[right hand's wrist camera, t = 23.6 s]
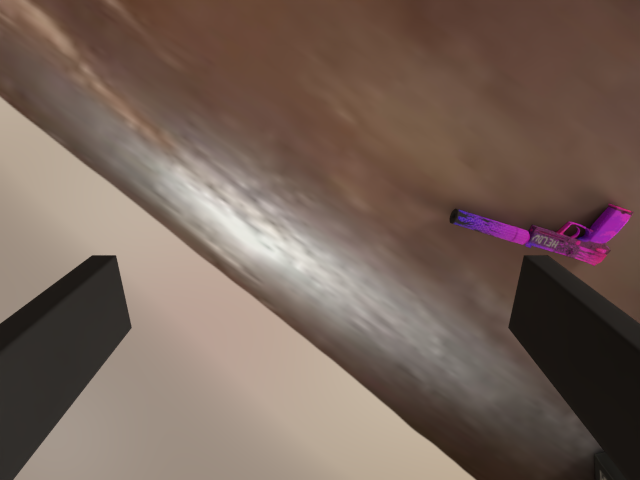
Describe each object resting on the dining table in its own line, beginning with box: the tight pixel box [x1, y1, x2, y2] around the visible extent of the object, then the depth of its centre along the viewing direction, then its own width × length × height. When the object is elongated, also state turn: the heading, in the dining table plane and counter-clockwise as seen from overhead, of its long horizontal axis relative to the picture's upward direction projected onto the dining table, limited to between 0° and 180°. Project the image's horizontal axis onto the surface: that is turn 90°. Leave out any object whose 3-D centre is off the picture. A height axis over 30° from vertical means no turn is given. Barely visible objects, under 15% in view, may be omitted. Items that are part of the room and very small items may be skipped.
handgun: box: [450, 204, 634, 266], centre depth 46 cm, size 21×8×2 cm, turn 74°
